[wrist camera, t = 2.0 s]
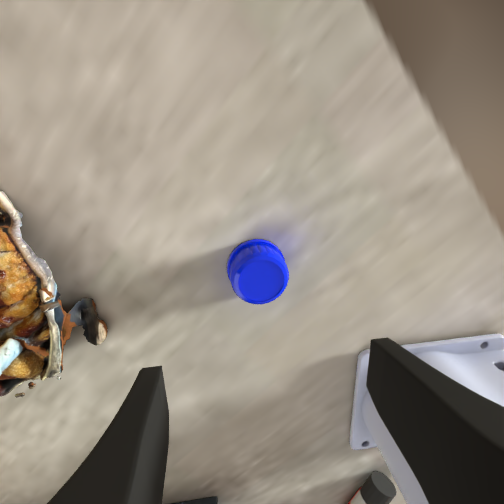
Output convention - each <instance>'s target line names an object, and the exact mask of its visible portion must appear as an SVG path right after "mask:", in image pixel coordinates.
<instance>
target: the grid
mask: <svg viewBox="0 0 504 504" xmlns="http://www.w3.org/2000/svg"><path fill="white" fill-rule="evenodd" d="M173 504H218V503H217V497H210V498H203V499H197V500H191V501H185V502H179V503H173Z"/></svg>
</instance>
